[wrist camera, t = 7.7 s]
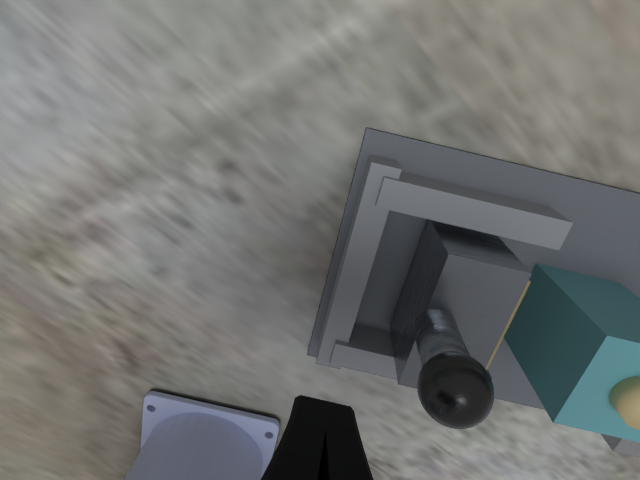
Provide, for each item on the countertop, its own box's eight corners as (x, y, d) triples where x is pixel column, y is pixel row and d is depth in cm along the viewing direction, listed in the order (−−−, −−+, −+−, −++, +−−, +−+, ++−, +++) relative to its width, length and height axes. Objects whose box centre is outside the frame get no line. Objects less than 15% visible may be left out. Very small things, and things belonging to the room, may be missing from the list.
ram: (455, 342, 20) (520, 508, 12) (377, 324, 20) (394, 480, 12) (502, 234, 18) (619, 356, 10) (415, 213, 17) (464, 320, 10)
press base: (593, 417, 22) (632, 473, 19) (307, 351, 21) (300, 397, 18) (729, 214, 17) (811, 245, 14) (366, 127, 17) (369, 139, 14)
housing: (578, 351, 20) (673, 466, 14) (501, 333, 20) (563, 440, 14) (619, 283, 18) (745, 380, 12) (535, 263, 18) (622, 351, 12)
